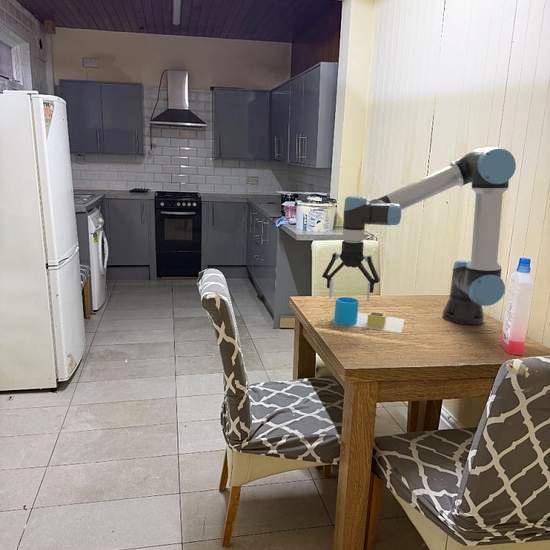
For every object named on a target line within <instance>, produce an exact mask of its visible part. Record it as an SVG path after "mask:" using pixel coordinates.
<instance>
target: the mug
mask: <svg viewBox="0 0 550 550" xmlns="http://www.w3.org/2000/svg"><path fill="white" fill-rule="evenodd" d="M359 303H360V300H359V299H358V298H354V297H349V296H340V297H337V298H335V305H334V318H333V319H334V320H333V321H334V322H335V323H334V324H338V325H340V326H348V327H349V326H350V325H355V324H357V316H358V313H359Z"/></svg>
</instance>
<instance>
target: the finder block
mask: <svg viewBox="0 0 550 550" xmlns="http://www.w3.org/2000/svg"><path fill="white" fill-rule="evenodd" d="M367 314H368V320H367V326H373V327H380V328H384V327H385V324H386V318H387V317H388V312H385V311H378V310H377V311H376V310H370V311H369V312H368V313H367Z"/></svg>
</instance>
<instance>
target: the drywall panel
mask: <svg viewBox="0 0 550 550" xmlns="http://www.w3.org/2000/svg"><path fill="white" fill-rule="evenodd" d="M368 314H369V313H364V312H358V316H357V324H355V325H350V326H351V327H358V328H363V329H364V328H365V329H371V330H372V329H373V330H378V331H384V332H391V333H399V334H402V330H403V326H404V323H405V318H398V317H393V316H392V317H391V316H387V318H386V324H385V327H384V328H380V327H373V326H367V320H368ZM332 324H336V323H335V322H334V320H333V321H332Z"/></svg>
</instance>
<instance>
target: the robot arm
mask: <svg viewBox="0 0 550 550" xmlns="http://www.w3.org/2000/svg"><path fill="white" fill-rule="evenodd" d="M516 166H517V163H516V159H515V156H514V155H513V154H512V153H511V152H510V151H509V150H508V149H506V148H502V147H497V146H492V147H480V148H476V149H474V150H472V151H470V152H467V153H466V154H464V155H462V156H461V157H458V158H457V159H455V160H452V161H450V163H449V165H448V166H446V167H444V168H441V169H440V170H437V171H436V172H432V173H431V174H429V175H427V176H425V177H423V178H420V179H419V180H416V181H413V182H412V183H409V184H407V185H405V186H403V187H400V188H399V189H396V190H394V191H391V192H390V193H388V194H386V195H383V196H381V197H379V198H375V199H371V200H369V201H367V198H366V197H365V196H357V195H355V196H354V195H353V196H352V195H350V196H346V197H345V198H344V206H343V207H344V208H343V219H342V221H343V223H342V224H343V225H342V235H341V236H342V238H341V239H342V240H343V241H342V242H341V253H337V252H336V251H335V252H333V253H332V256H331V260H330V262H329V263H328V265H327V267H326V269H324V271H323V274H322V276H321V277H322V278H323V279H326V281H327V282H326V288H327V289H328V291H329V293H328V298H329V299H332V298H333V295H334V294H333V293H334V278H333V277H334V276H335V275H336V274H337V273H338V272H339V271H340V270H341V269H342V268H343V267H344V266H345V267H347V268H355V269H356V268H358V270H360V271H361V273H362V274H363V275H364V277H365V279H366V280H367V281H368V283H367V289H366V291H367V292H366V293H367V294H366V303H369V302H370V301H371V294H373V293H374V289H375V284H378V283H379V282H380V280H381V278H379V275H378V273H377V269H376V267H375V266H374V263H373V256H372V255H364V244H365V243H364V241H365V229H366V228H365V227H366V225H369V226H370V225H375V226H376V225H379V226H398V225H399V224H400V222H401V219H402V211H403V210H405V209H407V208H410V207H411V206H414V205H416V204H419V203H421V202H423V201H425V200H427V199H429V198H432V197H433V196H436V195H438V194H441V193H442V192H445V191H447V190H449V189H451V188H453V187H456V186H458V187H462V186H466V185H467V184H470V183H471V189H472V190H473V191H474V193H475V199H474V214H473V216H474V217H473V229H472V230H473V232H472V243H471V256H470V257H471V259H470V260H456V261H454V264H453V268H452V275H451V283H450V284H451V285H450V291H449V293H450V294H449V297H448V300H447V302H446V304H445V306H444V308H443V309H442V318H443V319H445V320H446V321H449V322H452V323H455V324H458V325H459V324H460V325H467V326H477V325H481V324H483V323H484V318H485V314H484V308H483V307H487V306H492V305H495V304H497V303H498V302H500V300H501V299H502V298H503V297H504V295H505V292H506V285H505V283H504V280H503V279H502V266H501V264H499V262H498V257H499V256H498V255H499V244H500V243H499V242H500V233H501V222H502V221H501V219H502V207H503V198H504V197H503V196H504V195H503V194H504V193H505V192H506V191H507V190H508V189H509V183H510V180H511V178H512V177H513V176H514V175H515V173H516V172H515V171H516ZM338 259H340V260H341V263H340V264H339V265H338V266H337V267H335V269H334V270H333V271H332V272H331V273H330V271H331V270H332V267H333V266H334V264H335V263H336V260H338ZM363 261H365V263H367V265H368V268H369V269H370V272H371V274H372V275H371V274H370V272H369V271H368V270H367V269H366V267H365V266H364V264H363ZM329 273H330V274H329ZM372 276H373V277H372Z"/></svg>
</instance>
